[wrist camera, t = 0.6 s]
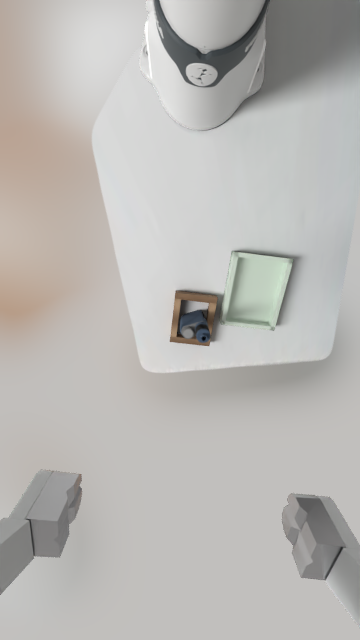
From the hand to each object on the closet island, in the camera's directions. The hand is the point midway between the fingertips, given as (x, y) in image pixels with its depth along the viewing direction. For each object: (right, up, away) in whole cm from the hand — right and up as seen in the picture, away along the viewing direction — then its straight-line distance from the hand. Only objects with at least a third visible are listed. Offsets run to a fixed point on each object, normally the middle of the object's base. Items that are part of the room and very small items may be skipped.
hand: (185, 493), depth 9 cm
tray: (+14, +13, +37) cm, 42 cm away
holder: (+2, +7, +39) cm, 40 cm away
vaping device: (+2, +7, +39) cm, 40 cm away
